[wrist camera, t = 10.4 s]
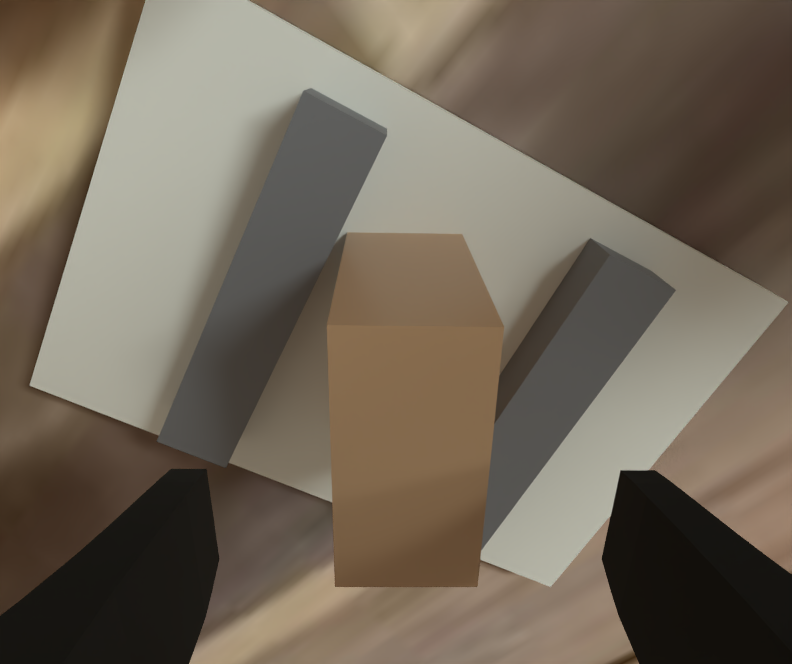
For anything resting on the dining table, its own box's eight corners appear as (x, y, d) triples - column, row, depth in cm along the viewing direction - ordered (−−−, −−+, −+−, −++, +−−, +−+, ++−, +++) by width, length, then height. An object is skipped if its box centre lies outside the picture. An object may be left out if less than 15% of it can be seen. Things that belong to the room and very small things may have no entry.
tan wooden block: (462, 234, 16) (504, 327, 10) (449, 427, 18) (477, 586, 13) (347, 232, 15) (326, 325, 10) (350, 427, 18) (334, 587, 12)
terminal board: (763, 287, 18) (825, 323, 15) (542, 560, 22) (562, 623, 19) (177, -40, 14) (133, -62, 11) (50, 366, 18) (-2, 413, 16)
